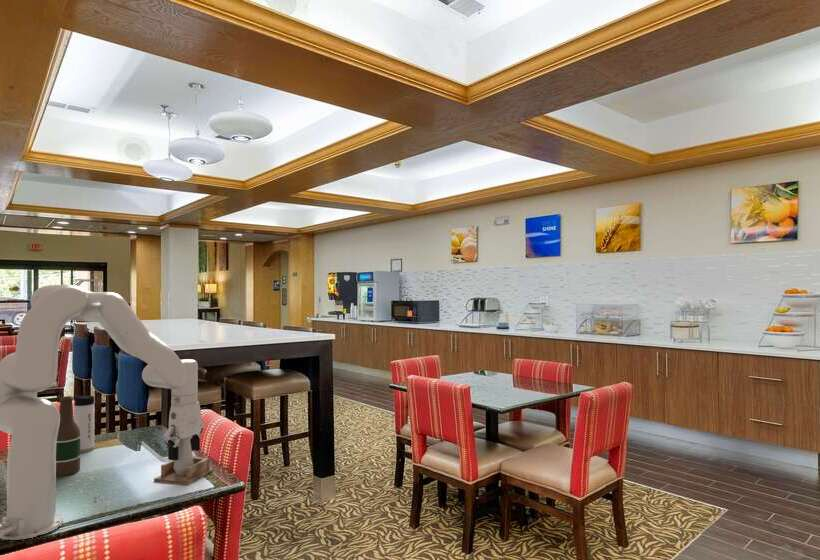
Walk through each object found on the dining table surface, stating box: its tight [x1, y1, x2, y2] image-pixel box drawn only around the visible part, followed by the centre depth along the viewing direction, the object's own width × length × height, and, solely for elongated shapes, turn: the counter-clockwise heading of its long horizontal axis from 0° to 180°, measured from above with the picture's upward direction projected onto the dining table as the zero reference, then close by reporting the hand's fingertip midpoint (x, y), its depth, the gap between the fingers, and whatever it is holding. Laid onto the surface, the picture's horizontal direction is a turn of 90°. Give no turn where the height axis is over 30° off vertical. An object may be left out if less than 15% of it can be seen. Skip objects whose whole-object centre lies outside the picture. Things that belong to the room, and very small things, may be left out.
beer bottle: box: [56, 395, 81, 478], centre depth 164 cm, size 8×8×24 cm
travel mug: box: [72, 394, 96, 454], centre depth 187 cm, size 6×7×20 cm
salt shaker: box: [173, 436, 194, 476], centre depth 160 cm, size 6×6×13 cm
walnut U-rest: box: [153, 456, 214, 486], centre depth 160 cm, size 12×12×4 cm
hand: (184, 454), depth 160 cm, fingers open, 9 cm apart
